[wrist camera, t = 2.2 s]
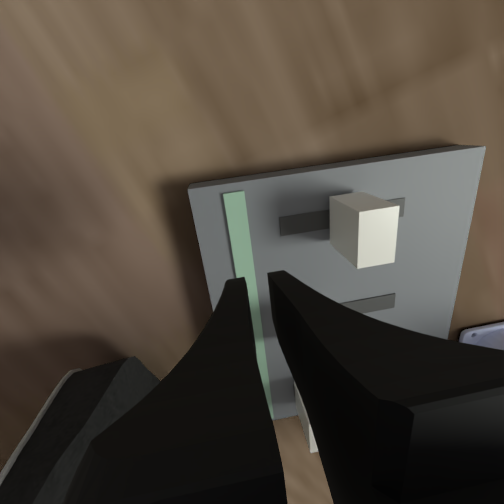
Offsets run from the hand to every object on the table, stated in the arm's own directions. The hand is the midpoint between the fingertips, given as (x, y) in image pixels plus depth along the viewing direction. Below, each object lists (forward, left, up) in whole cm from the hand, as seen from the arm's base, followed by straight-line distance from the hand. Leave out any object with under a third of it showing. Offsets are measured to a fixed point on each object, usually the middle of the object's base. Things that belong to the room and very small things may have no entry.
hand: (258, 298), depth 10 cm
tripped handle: (-7, 0, -7) cm, 10 cm away
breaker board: (-7, +7, -9) cm, 13 cm away
